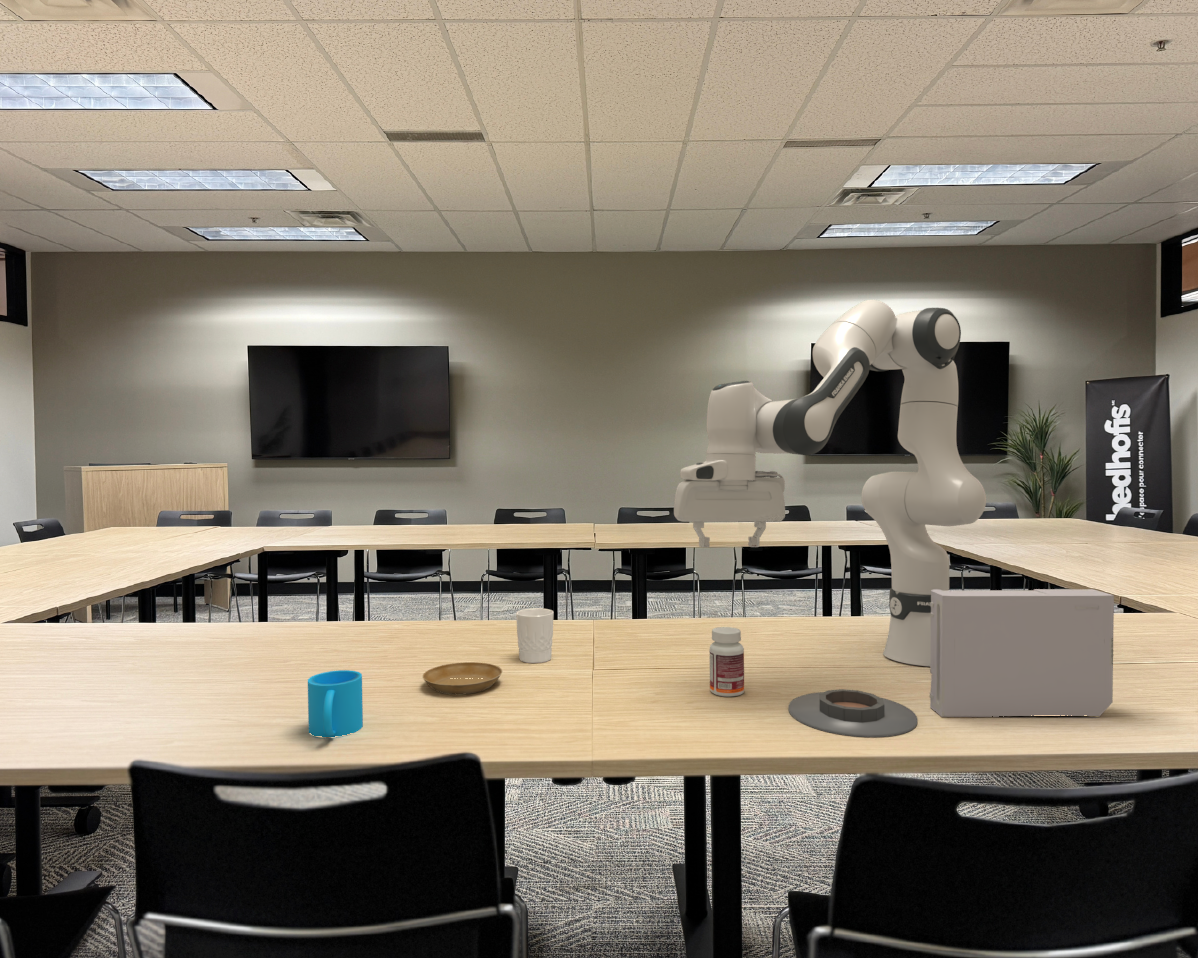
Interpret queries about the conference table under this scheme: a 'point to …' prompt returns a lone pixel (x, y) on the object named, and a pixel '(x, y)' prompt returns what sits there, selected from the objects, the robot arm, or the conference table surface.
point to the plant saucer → (462, 677)
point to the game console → (1021, 652)
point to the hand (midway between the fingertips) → (729, 546)
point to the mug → (335, 703)
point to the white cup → (535, 634)
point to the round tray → (855, 729)
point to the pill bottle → (726, 662)
